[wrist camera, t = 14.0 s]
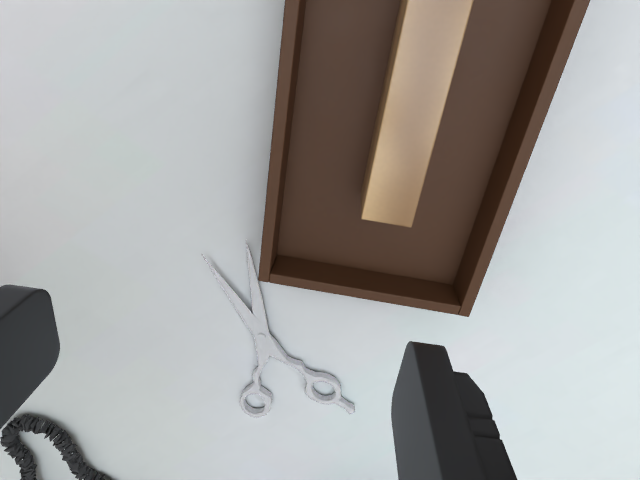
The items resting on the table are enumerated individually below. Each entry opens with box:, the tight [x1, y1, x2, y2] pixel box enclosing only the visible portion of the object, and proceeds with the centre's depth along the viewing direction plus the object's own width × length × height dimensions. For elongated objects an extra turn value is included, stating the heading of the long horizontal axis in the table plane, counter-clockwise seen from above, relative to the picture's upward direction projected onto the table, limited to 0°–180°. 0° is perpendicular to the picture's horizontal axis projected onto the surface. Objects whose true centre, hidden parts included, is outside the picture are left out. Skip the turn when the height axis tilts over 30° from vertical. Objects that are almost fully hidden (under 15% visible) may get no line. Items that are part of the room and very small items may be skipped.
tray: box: [258, 0, 590, 317], centre depth 25 cm, size 16×32×4 cm, turn 171°
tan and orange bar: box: [361, 0, 474, 227], centre depth 23 cm, size 6×22×4 cm, turn 172°
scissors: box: [202, 240, 355, 417], centre depth 37 cm, size 11×1×20 cm
